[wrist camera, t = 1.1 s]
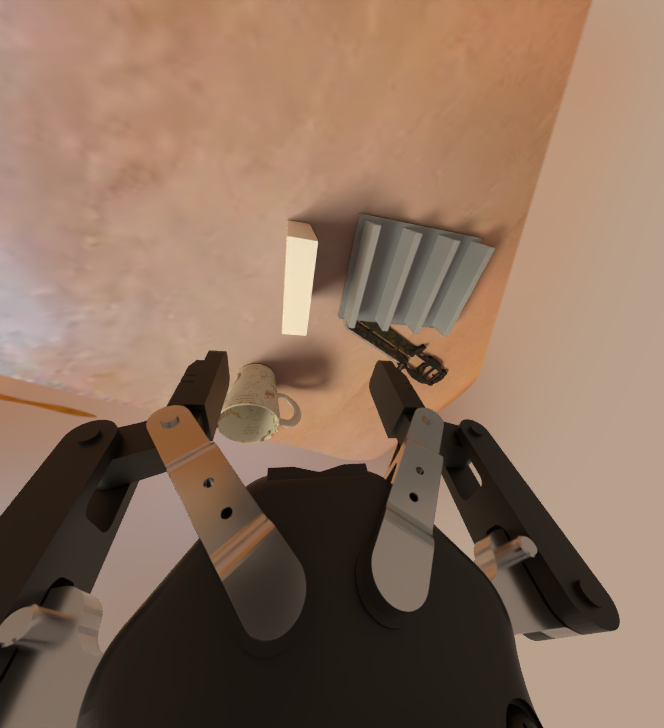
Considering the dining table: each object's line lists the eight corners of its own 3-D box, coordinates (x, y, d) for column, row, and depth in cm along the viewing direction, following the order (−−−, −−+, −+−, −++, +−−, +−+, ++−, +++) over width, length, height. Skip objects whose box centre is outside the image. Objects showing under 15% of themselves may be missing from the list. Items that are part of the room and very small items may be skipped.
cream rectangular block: (283, 296, 32) (281, 333, 24) (287, 219, 26) (287, 236, 19) (301, 298, 32) (306, 335, 24) (309, 223, 27) (318, 241, 19)
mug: (241, 349, 36) (227, 396, 28) (311, 376, 41) (317, 422, 33) (223, 385, 40) (207, 436, 32) (290, 406, 45) (290, 453, 37)
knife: (333, 317, 35) (335, 321, 34) (365, 284, 33) (367, 288, 32) (421, 388, 48) (424, 393, 47) (448, 368, 46) (452, 373, 44)
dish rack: (338, 315, 35) (343, 330, 31) (359, 212, 27) (369, 217, 23) (434, 325, 38) (449, 339, 35) (477, 237, 31) (502, 244, 27)
